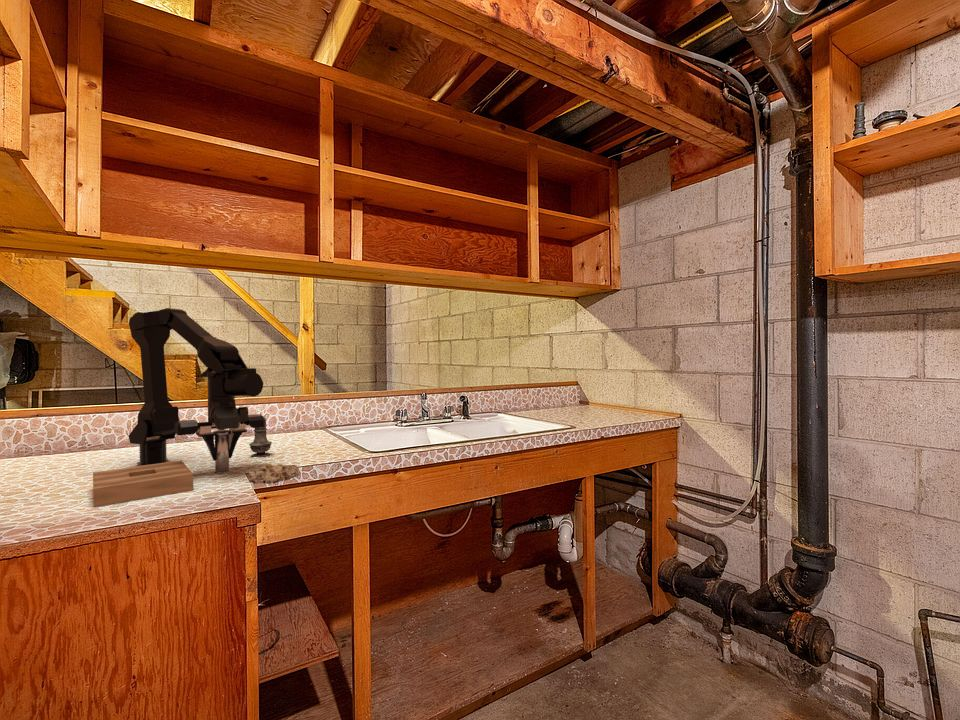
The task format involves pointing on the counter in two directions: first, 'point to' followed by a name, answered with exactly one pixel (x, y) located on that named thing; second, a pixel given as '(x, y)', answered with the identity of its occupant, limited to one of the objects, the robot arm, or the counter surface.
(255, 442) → the salt shaker
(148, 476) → the socket block
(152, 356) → the robot arm
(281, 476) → the mineral rock
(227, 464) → the pin
